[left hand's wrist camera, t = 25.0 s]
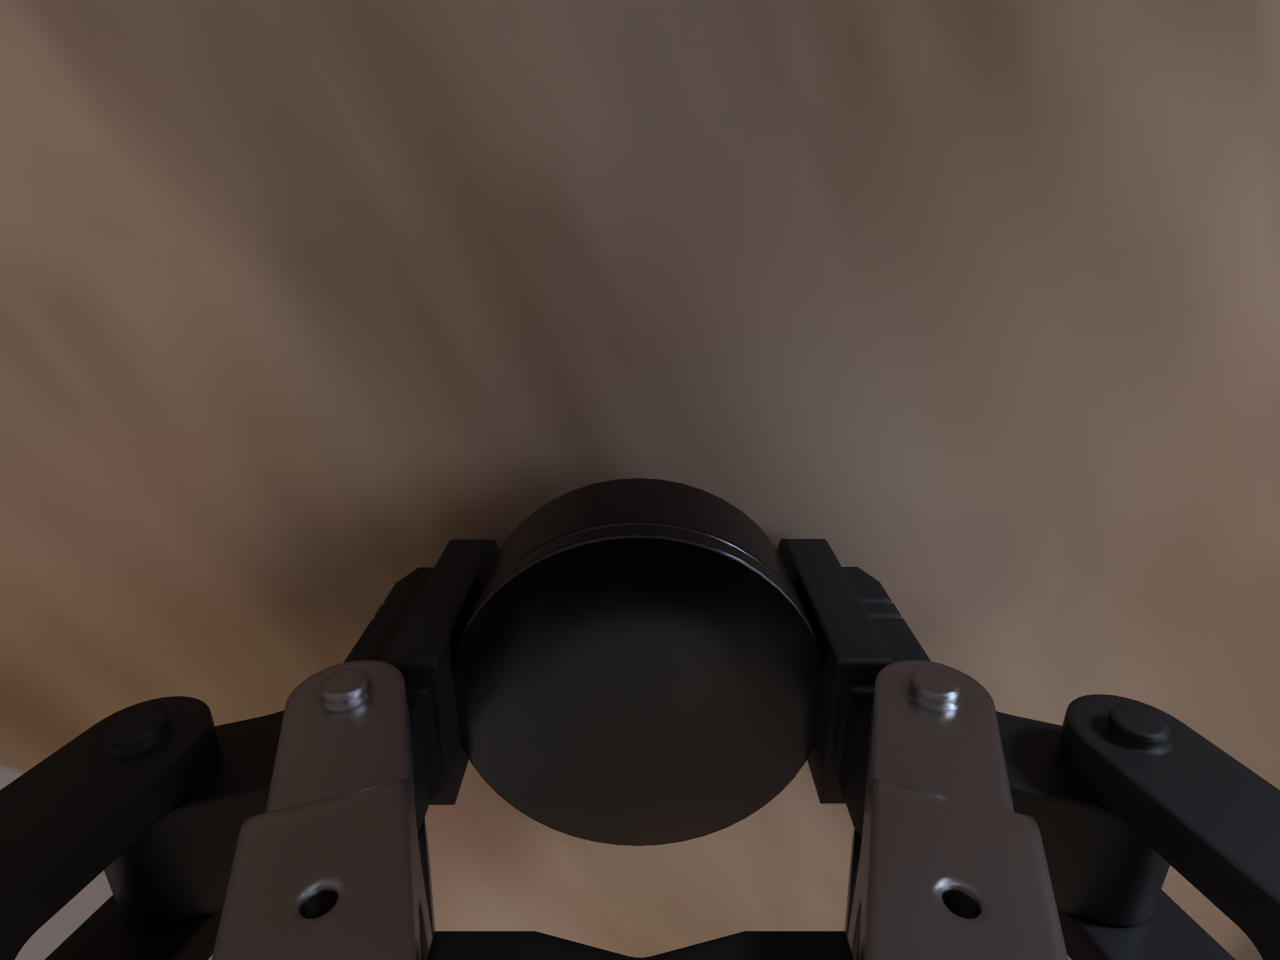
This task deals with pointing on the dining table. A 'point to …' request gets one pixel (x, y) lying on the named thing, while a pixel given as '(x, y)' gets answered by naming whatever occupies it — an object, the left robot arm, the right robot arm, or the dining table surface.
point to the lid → (638, 666)
